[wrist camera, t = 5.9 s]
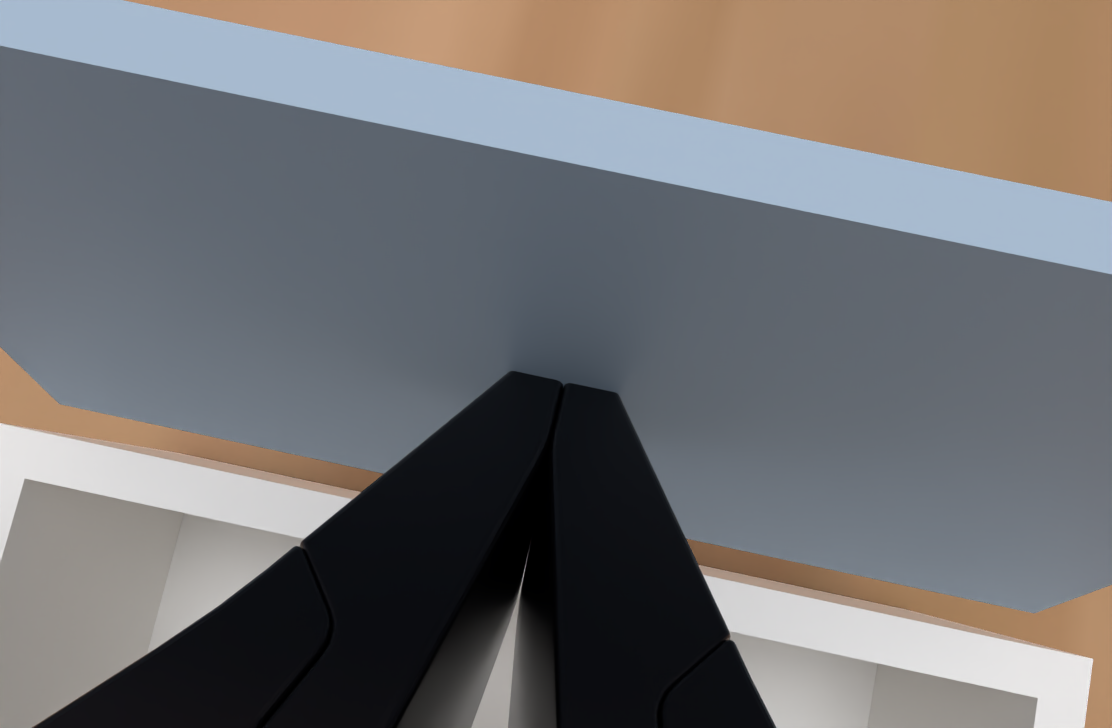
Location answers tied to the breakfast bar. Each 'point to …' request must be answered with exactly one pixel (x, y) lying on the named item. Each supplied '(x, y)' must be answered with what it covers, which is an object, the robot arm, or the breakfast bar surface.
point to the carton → (744, 602)
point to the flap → (560, 290)
